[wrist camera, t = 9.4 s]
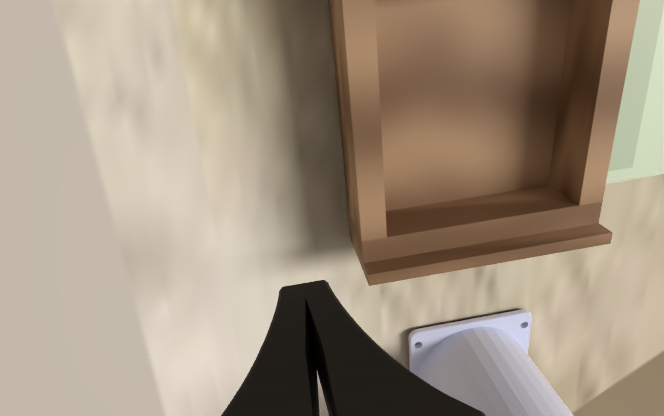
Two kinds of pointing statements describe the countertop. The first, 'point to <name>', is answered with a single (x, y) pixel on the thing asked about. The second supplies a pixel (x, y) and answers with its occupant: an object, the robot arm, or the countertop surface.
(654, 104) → the lid
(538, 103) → the box
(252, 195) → the countertop surface
